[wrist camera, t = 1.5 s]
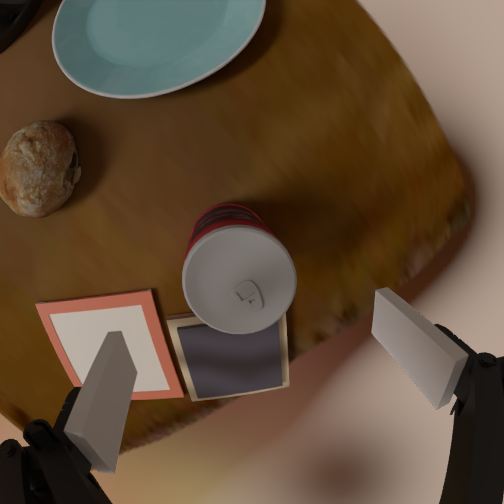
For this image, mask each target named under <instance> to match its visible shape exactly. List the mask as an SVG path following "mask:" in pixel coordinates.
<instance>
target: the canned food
mask: <svg viewBox="0 0 504 504" xmlns="http://www.w3.org/2000/svg"><path fill="white" fill-rule="evenodd" d="M182 284H183V290H184V295H185V298H186V300H187V302H188V305H189V307H190V308H191V309H192V311H193V312H194V314H195V315H196V316H197V317H198V318H199V319H200V320H201V321H203V322H204V323H205V324H207V325H209V326H210V327H212V328H214V329H216V330H219V331H221V332H226V333H231V334H248V333H254V332H257V331H260V330H263V329H265V328H267V327H269V326H271V325H272V324H274V323H275V322H276V321H278V320H279V319H280V318H281V317H282V316H283V315H284V314H285V312H286V311H287V310H288V308H289V306H290V305H291V303H292V301H293V298H294V295H295V291H296V284H297V280H296V271H295V267H294V263H293V261H292V259H291V257H290V255H289V253H288V251H287V249H286V248H285V247H284V245H283V244H282V243H281V242H280V240H279V239H278V238H277V237H276V236H275V235H274V233H273V232H272V231H271V230H270V229H269V228H268V227H267V225H266V224H265V223H264V222H263V221H262V220H261V219H260V218H259V216H258V215H257V214H255V213H254V212H253V211H252V210H250V209H248V208H247V207H245V206H242V205H239V204H233V203H224V204H219V205H216V206H213V207H211V208H209V209H207V210H206V211H205V212H203V213H202V214H201V215H200V216H199V218H198V219H197V220H196V222H195V224H194V226H193V228H192V232H191V236H190V240H189V244H188V248H187V252H186V256H185V261H184V265H183V272H182Z"/></svg>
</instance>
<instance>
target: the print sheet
mask: <svg viewBox="0 0 504 504" xmlns="http://www.w3.org/2000/svg"><path fill="white" fill-rule="evenodd" d="M35 305H36V307H37V310H38V312H39V315H40V317H41V320H42V322H43V324H44V327H45V329H46V331H47V334H48V336H49V338H50V340H51V342H52V345H53V347H54V349H55V351H56V353H57V355H58V357H59V359H60V361H61V363H62V365H63V367H64V369H65V371H66V372H67V374H68V376H69V378H70V380H71V381H72V383H73V385H74V387H82V385H83V383H84V381H85V379H86V377H87V374H88V372H89V370H90V368H91V366H92V364H93V361H94V359H95V357H96V355H97V353H98V351H99V349H100V347H101V345H102V343H103V341H104V339H105V337H106V335H107V333H108V332H112V331H122V334H123V337H124V339H125V342H126V345H127V347H128V350H129V352H130V355H131V358H132V360H133V362H134V365H135V367H136V370H137V372H138V373H137V377H136V381H135V384H134V388H133V392H132V396H131V400H144V399H163V398H177V397H184V392H183V390H182V387H181V384H180V381H179V378H178V376H177V373H176V370H175V367H174V364H173V361H172V358H171V355H170V352H169V349H168V345H167V342H166V339H165V336H164V332H163V329H162V326H161V322H160V319H159V315H158V312H157V308H156V304H155V301H154V297H153V293H152V289H146V290H139V291H131V292H123V293H115V294H107V295H99V296H91V297H83V298H74V299H65V300H56V301H47V302H38V303H36V304H35Z"/></svg>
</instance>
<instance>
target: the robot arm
mask: <svg viewBox="0 0 504 504" xmlns="http://www.w3.org/2000/svg"><path fill="white" fill-rule="evenodd" d="M41 2H42V0H0V53H1V52H2V51H3V50H4V49H6V48H7V47H8V46H9V45H10V44H11V43H12V42H13V41H14V40H15V39H16V38H17V36H18V35H19V34H20V33H21V32H22V31H23V29H24V28H25V27H26V26H27V24H28V23H29V21H30V20H31V19H32V17H33V16H34V14H35V12H36V11H37V9H38V7H39V6H40V4H41ZM372 334H373V335H374V337H375V338H376V339H377V340H378V341H379V342H380V343H381V345H382V346H383V347H384V348H385V349H386V350H387V351H388V352H389V354H390V355H391V356H392V357H393V358H394V360H395V361H396V362H397V363H398V364H399V365H400V367H401V368H402V369H403V370H404V371H405V373H406V374H407V375H408V376H409V377H410V378H411V380H412V381H413V382H414V383H415V384H416V386H417V387H418V388H419V389H420V390H421V391H422V393H423V394H424V395H425V396H426V398H427V399H428V400H429V401H430V403H431V404H432V405H433V406H434V407H435V409H436V410H437V409H439V408H441V407H442V406H445V405H446V404H448V403H449V402H450V400H451V398H452V396H453V393H454V394H455V395H456V397H457V400H456V402H455V404H454V406H453V408H452V410H451V413H450V415H452V414H453V412H454V410H455V414H454V425H453V434H452V442H451V449H450V455H449V461H448V467H447V472H446V477H445V482H444V486H443V490H442V495H441V499H440V502H439V504H502V502H503V494H504V356H503V357H499V358H496V357H495V356H494V355H492V354H490V353H486V352H484V353H479V354H477V353H476V352H475V351H474V350H472V349H471V348H470V347H469V346H468V345H467V344H465V343H464V342H463V341H462V340H461V339H458V337H457V336H456V335H453V333H452V332H451V331H450V330H449V329H447V328H446V327H444V326H441V325H439V324H435V325H433V324H432V323H431V322H430V321H429V320H427V319H426V318H425V317H424V316H423V315H421V314H420V313H419V312H417V311H416V310H415V309H414V308H413V307H411V306H410V305H409V304H408V303H407V302H405V301H404V300H403V299H402V298H400V297H399V296H398V295H397V294H395V293H394V292H393V291H391V290H390V289H389V288H388V287H387V288H383V289H378V290H376V293H375V305H374V315H373V325H372ZM137 373H138V372H137V370H136V367H135V365H134V362H133V360H132V358H131V355H130V352H129V350H128V347H127V345H126V342H125V339H124V337H123V334H122V331H112V332H108V333H107V335H106V337H105V339H104V341H103V343H102V345H101V347H100V349H99V351H98V353H97V355H96V357H95V359H94V361H93V364H92V366H91V368H90V370H89V372H88V374H87V377H86V379H85V381H84V383H83V385H82V387H75V388H74V389H73V390H72V391H71V392H70V393H69V394H68V396H67V398H66V400H65V402H64V403H65V404H63V407H62V411H60V413H59V416H58V418H57V420H56V423H55V425H54V427H53V428H52V427H51V426H50V424H49V423H48V422H47V421H45V420H42V419H37V420H34V421H32V422H30V423H29V424H28V425H27V426H26V427H25V429H24V432H23V438H24V439H25V441H26V442H27V443H28V444H29V445H30V446H26V447H22V446H21V445H20V444H19V443H18V441H17V440H14V439H8V440H5V441H4V442H3V443H2V444H1V445H0V504H112V503H111V501H110V500H109V498H108V497H107V495H106V494H105V493H104V491H103V490H102V488H101V487H100V485H99V484H98V482H97V481H96V479H95V477H94V476H93V475H92V474H91V473H90V469H91V465H92V466H93V467H94V468H95V469H96V470H97V471H98V472H103V473H112V474H115V469H116V464H117V459H118V454H119V449H120V444H121V439H122V435H123V430H124V426H125V421H126V417H127V413H128V408H129V404H130V400H131V396H132V392H133V388H134V384H135V381H136V377H137Z"/></svg>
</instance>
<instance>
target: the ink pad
mask: <svg viewBox="0 0 504 504" xmlns="http://www.w3.org/2000/svg"><path fill="white" fill-rule="evenodd" d="M166 321H167V324H168V328H169V331H170V335H171V338H172V341H173V345H174V348H175V351H176V355H177V358H178V361H179V364H180V367H181V370H182V373H183V376H184V379H185V382H186V385H187V388H188V391H189V394H190V396H191V399H192V401H200V400H209V399H217V398H225V397H232V396H239V395H245V394H252V393H257V392H263V391H268V390H274V389H279V388H284V387H288V386H289V365H288V345H287V327H286V312H285V314H284V315H283V316H282V317H281V318H280V319H279V320H278V321H276V322H275V323H274V324H272V325H271V326H269V327H267V328H265V329H263V330H260V331H257V332H254V333H248V334H231V333H226V332H221V331H219V330H216V329H214V328H212V327H210V326H209V325H207V324H205V323H204V322H203V321H201V320H200V319H199V318H198V317H197V316H196V315H195V314H194V313H186V314H178V315H170V316H167V320H166Z"/></svg>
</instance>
